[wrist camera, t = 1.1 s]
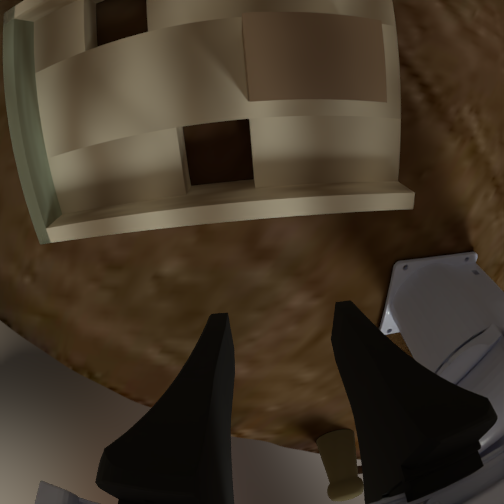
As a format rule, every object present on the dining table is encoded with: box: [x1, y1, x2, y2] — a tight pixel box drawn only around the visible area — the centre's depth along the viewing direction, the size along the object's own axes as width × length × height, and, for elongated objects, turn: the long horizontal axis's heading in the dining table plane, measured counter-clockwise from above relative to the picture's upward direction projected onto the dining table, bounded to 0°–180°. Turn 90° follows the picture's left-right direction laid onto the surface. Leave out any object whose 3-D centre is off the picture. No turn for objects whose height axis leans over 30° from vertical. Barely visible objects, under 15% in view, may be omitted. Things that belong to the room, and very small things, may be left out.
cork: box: [316, 429, 364, 501], centre depth 33 cm, size 6×6×11 cm
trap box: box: [3, 0, 415, 244], centre depth 13 cm, size 23×16×4 cm
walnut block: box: [242, 12, 387, 103], centre depth 12 cm, size 6×4×4 cm, turn 95°
